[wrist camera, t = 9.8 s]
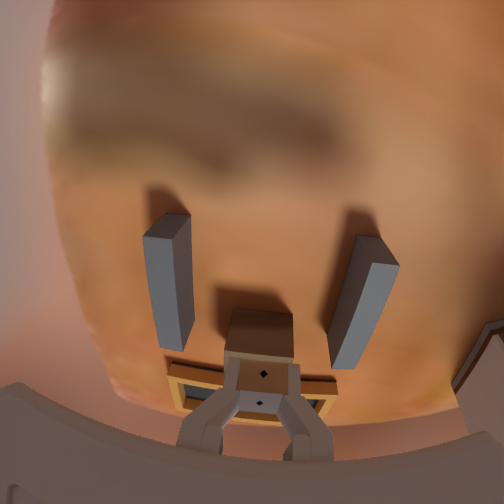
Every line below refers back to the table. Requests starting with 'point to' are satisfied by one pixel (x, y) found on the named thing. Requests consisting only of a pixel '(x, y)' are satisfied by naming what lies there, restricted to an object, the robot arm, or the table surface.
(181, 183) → the table surface
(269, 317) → the walnut block
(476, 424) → the grey toy tower
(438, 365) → the table surface
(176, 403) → the tray
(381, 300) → the grey parallel walls
